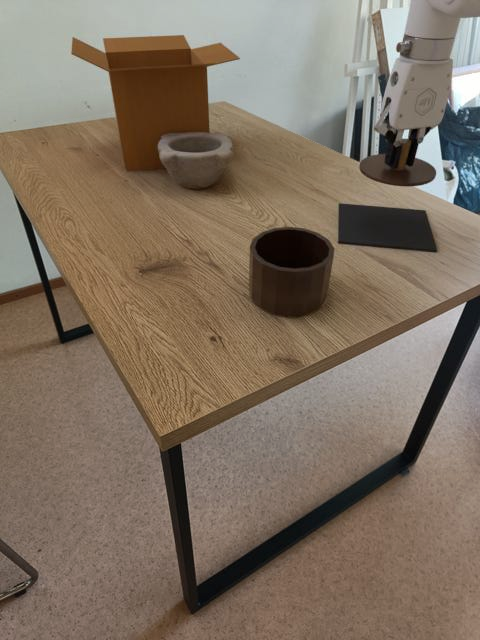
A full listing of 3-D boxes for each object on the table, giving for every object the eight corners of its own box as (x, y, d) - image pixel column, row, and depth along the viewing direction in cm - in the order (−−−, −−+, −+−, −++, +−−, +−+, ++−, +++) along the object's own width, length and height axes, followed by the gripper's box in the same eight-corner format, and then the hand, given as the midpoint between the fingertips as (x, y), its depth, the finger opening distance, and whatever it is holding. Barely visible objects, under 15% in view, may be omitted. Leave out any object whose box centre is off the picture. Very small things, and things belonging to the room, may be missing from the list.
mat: (424, 212, 95) (425, 210, 95) (436, 252, 83) (437, 250, 83) (338, 205, 98) (339, 203, 97) (338, 243, 86) (338, 241, 85)
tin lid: (413, 157, 89) (421, 126, 85) (449, 186, 79) (460, 152, 75) (347, 162, 88) (353, 130, 84) (376, 192, 77) (383, 158, 73)
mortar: (231, 166, 114) (231, 128, 108) (234, 195, 101) (234, 154, 95) (164, 167, 113) (160, 129, 107) (158, 197, 100) (153, 156, 94)
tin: (313, 267, 79) (319, 224, 74) (337, 312, 70) (346, 266, 65) (243, 274, 78) (243, 230, 72) (258, 321, 68) (260, 275, 63)
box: (214, 123, 139) (211, 24, 122) (250, 174, 110) (252, 54, 93) (93, 133, 131) (72, 29, 115) (97, 190, 103) (70, 63, 86)
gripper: (396, 57, 65) (371, 179, 77) (485, 50, 70) (448, 166, 82) (368, 47, 71) (348, 163, 83) (452, 41, 75) (422, 152, 87)
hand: (398, 164), depth 82 cm, fingers closed on tin lid, 2 cm apart
